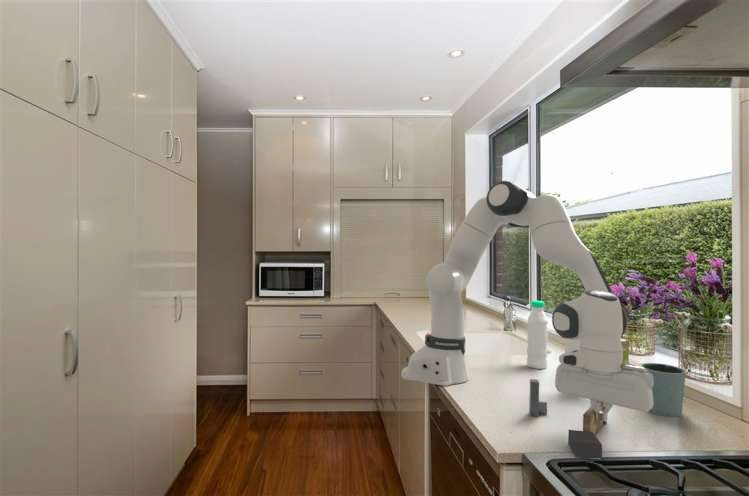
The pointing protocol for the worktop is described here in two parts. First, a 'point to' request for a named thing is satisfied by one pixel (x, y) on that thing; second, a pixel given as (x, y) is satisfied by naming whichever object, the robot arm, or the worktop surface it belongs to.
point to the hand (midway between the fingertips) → (601, 420)
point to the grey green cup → (667, 388)
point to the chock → (584, 444)
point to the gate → (592, 420)
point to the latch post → (536, 400)
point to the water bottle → (537, 336)
